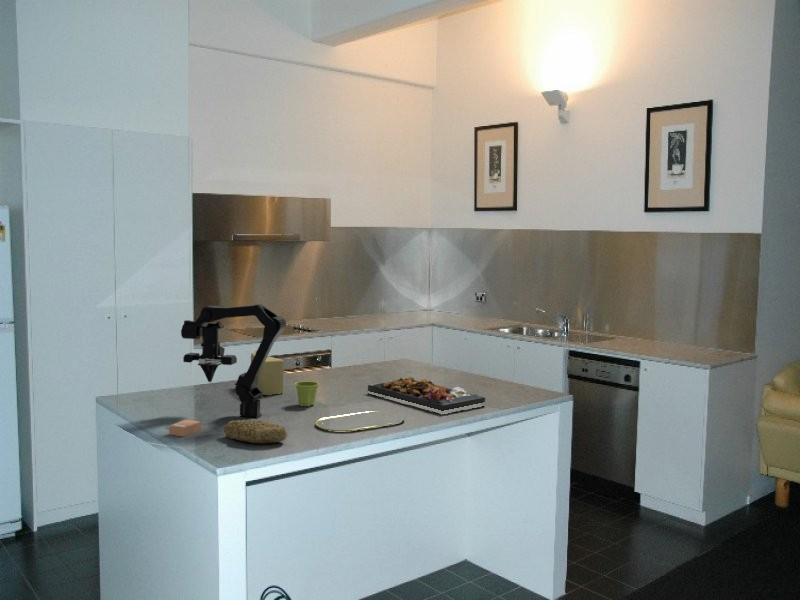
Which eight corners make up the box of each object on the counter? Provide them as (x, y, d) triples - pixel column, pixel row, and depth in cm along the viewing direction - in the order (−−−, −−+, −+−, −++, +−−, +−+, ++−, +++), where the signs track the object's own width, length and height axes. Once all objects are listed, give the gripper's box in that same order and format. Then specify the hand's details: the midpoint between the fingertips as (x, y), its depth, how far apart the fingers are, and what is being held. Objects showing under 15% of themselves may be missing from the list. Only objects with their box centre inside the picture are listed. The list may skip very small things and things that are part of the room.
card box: (186, 419, 251) (169, 425, 243) (201, 421, 249) (184, 427, 241) (185, 428, 252) (169, 434, 243) (200, 430, 250) (184, 436, 241)
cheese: (241, 386, 324) (241, 352, 323) (262, 384, 330) (262, 351, 328) (262, 396, 306) (263, 360, 305) (284, 394, 312) (284, 359, 310)
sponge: (220, 444, 241) (262, 443, 229) (220, 420, 242) (262, 417, 230) (250, 443, 251) (292, 442, 239) (250, 420, 252) (292, 418, 241)
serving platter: (305, 424, 265) (306, 420, 265) (385, 413, 286) (385, 409, 286) (333, 437, 250) (333, 432, 250) (415, 424, 271) (415, 419, 271)
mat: (165, 429, 251) (165, 427, 251) (198, 424, 259) (198, 422, 259) (185, 440, 239) (185, 438, 239) (219, 434, 247) (219, 433, 247)
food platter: (484, 408, 301) (485, 383, 300) (442, 416, 284) (443, 390, 283) (409, 388, 334) (410, 366, 333) (367, 395, 317) (368, 371, 317)
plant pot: (300, 408, 287) (301, 386, 286) (290, 403, 294) (290, 382, 294) (322, 406, 292) (322, 384, 291) (311, 401, 300) (312, 380, 299)
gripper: (242, 338, 278) (242, 379, 280) (196, 335, 282) (195, 376, 283) (231, 342, 268) (230, 385, 269) (182, 339, 271) (182, 381, 272)
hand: (209, 381), depth 273 cm, fingers closed
